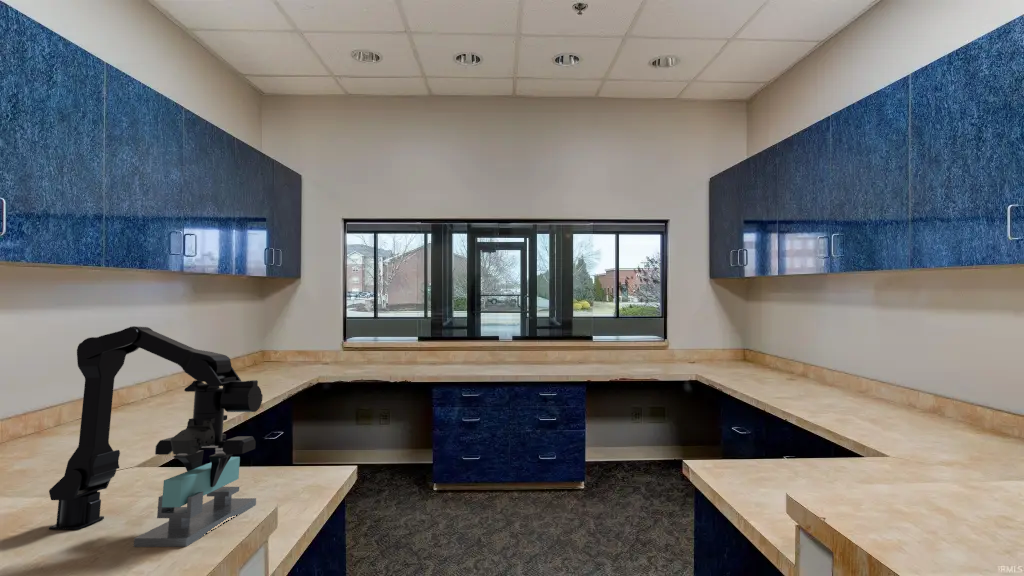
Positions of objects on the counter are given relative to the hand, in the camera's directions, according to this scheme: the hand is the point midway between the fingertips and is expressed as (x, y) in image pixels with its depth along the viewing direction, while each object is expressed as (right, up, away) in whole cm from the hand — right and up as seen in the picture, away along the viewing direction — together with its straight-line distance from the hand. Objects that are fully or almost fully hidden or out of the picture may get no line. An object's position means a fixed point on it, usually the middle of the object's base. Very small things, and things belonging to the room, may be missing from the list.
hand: (203, 486), depth 104 cm
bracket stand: (0, -7, -1) cm, 8 cm away
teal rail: (0, -1, 0) cm, 1 cm away
